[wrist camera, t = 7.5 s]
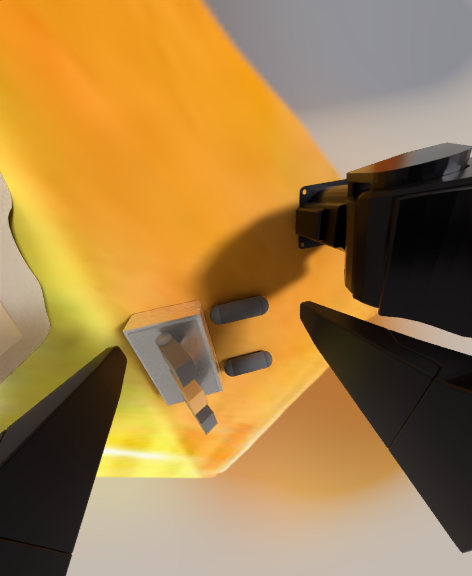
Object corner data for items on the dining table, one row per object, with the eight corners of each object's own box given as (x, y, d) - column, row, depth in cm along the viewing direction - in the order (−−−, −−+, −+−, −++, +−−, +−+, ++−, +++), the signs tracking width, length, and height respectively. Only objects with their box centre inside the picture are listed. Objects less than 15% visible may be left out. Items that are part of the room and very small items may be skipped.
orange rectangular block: (180, 358, 21) (202, 388, 17) (186, 373, 22) (208, 404, 18) (167, 367, 20) (187, 400, 16) (175, 382, 21) (195, 416, 18)
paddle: (190, 381, 23) (212, 411, 19) (195, 393, 24) (217, 423, 21) (179, 390, 22) (200, 423, 19) (185, 402, 23) (206, 435, 20)
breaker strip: (199, 299, 21) (199, 315, 18) (220, 372, 28) (223, 392, 25) (132, 314, 20) (121, 333, 18) (170, 385, 27) (167, 407, 24)
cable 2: (268, 345, 27) (274, 358, 25) (269, 356, 28) (275, 369, 26) (222, 357, 26) (224, 371, 24) (224, 368, 28) (227, 381, 26)
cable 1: (264, 290, 22) (271, 300, 20) (265, 306, 24) (271, 316, 21) (207, 303, 22) (208, 314, 20) (211, 318, 23) (212, 330, 21)
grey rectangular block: (167, 330, 19) (191, 356, 15) (175, 348, 20) (199, 376, 16) (152, 338, 18) (174, 369, 14) (162, 357, 19) (184, 389, 16)
